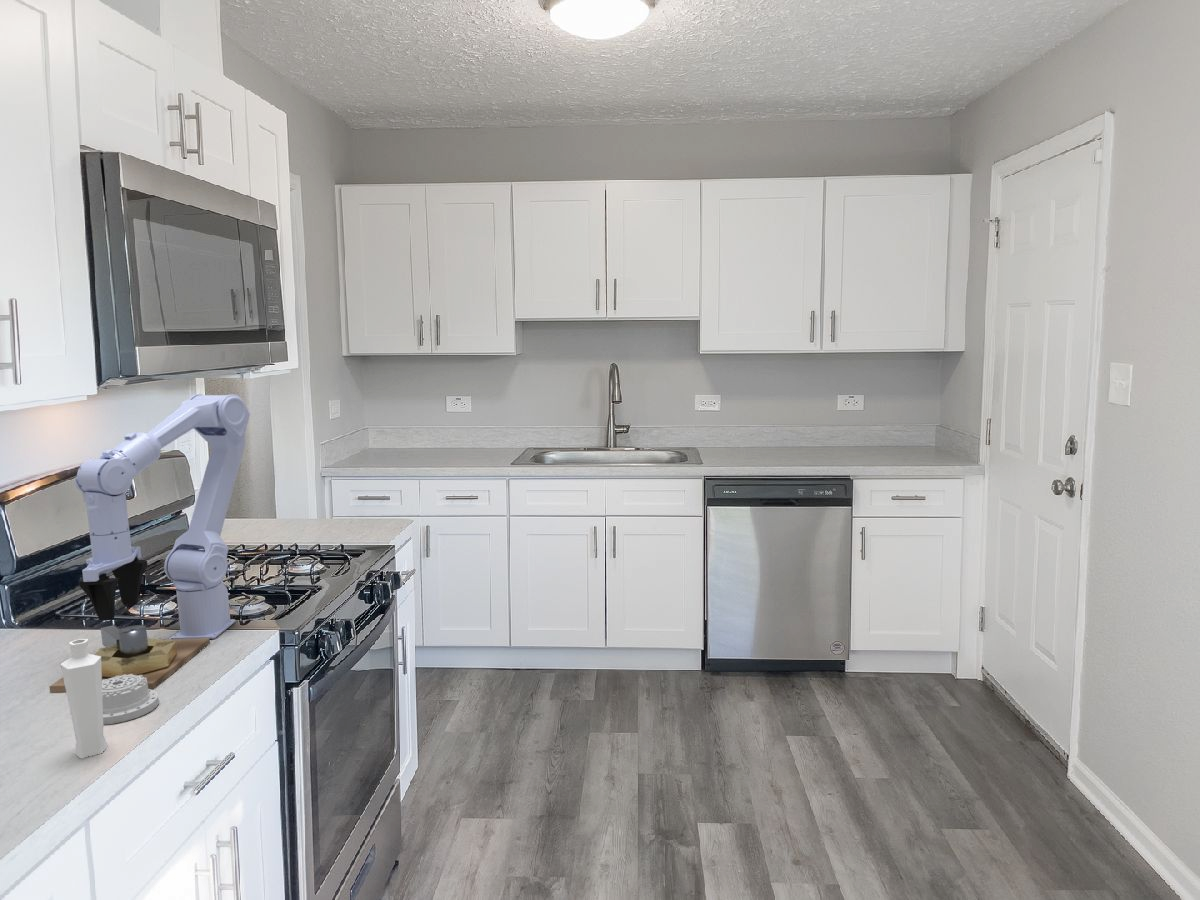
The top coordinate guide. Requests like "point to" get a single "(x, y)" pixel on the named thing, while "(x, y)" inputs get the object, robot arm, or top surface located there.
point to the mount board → (156, 677)
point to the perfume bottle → (85, 698)
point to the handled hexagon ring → (117, 666)
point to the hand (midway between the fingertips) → (118, 611)
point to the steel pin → (133, 641)
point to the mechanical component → (126, 698)
